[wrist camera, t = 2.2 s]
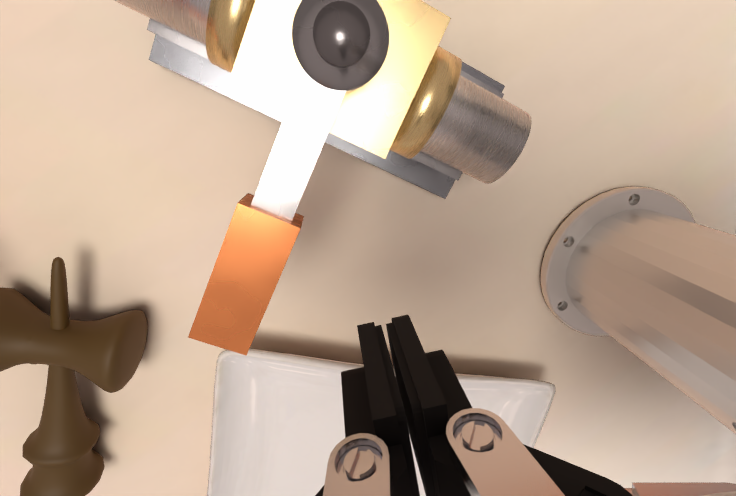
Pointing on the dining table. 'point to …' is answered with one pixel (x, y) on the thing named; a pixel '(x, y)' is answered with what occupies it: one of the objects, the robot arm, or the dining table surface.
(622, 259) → the robot arm
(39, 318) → the kendama
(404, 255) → the dining table surface
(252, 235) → the lever
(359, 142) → the ball valve
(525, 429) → the square plate
